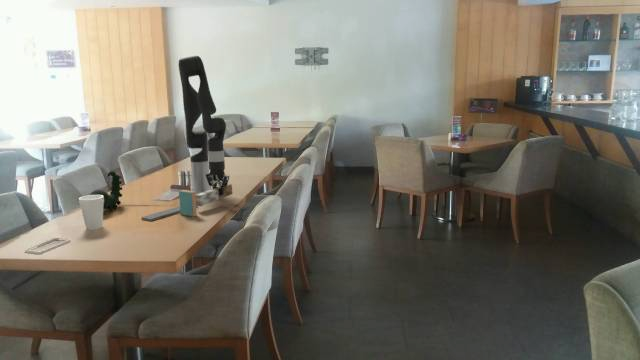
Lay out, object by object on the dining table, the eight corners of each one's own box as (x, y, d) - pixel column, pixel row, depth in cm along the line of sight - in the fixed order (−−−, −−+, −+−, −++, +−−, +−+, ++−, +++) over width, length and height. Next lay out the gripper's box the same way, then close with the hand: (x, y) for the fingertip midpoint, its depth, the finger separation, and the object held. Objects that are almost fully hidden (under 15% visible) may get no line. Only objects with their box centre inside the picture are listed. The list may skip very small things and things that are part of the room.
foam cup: (111, 225, 217) (108, 195, 215) (95, 231, 209) (92, 200, 206) (93, 223, 220) (90, 194, 218) (77, 229, 212) (73, 199, 209)
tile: (184, 213, 235) (182, 189, 233) (196, 215, 231) (195, 191, 229) (180, 214, 233) (178, 190, 231) (192, 216, 229) (191, 192, 227)
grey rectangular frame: (40, 255, 183) (71, 242, 197) (40, 251, 183) (71, 238, 197) (24, 253, 185) (56, 240, 199) (23, 249, 185) (55, 237, 199)
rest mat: (188, 205, 249) (188, 203, 249) (197, 207, 246) (197, 205, 245) (141, 219, 226) (141, 217, 225) (150, 221, 222) (150, 219, 222)
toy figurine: (110, 207, 254) (80, 216, 229) (108, 169, 252) (77, 174, 227) (128, 208, 252) (99, 217, 228) (126, 169, 250) (97, 175, 226)
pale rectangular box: (227, 193, 255) (226, 183, 254) (232, 194, 254) (231, 184, 253) (195, 205, 238) (194, 195, 236) (200, 206, 236) (199, 195, 235)
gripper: (232, 159, 244) (234, 195, 247) (211, 157, 251) (213, 192, 254) (222, 162, 237) (224, 198, 241) (200, 160, 245) (202, 195, 248)
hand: (218, 194), depth 248 cm, fingers closed on pale rectangular box, 3 cm apart
